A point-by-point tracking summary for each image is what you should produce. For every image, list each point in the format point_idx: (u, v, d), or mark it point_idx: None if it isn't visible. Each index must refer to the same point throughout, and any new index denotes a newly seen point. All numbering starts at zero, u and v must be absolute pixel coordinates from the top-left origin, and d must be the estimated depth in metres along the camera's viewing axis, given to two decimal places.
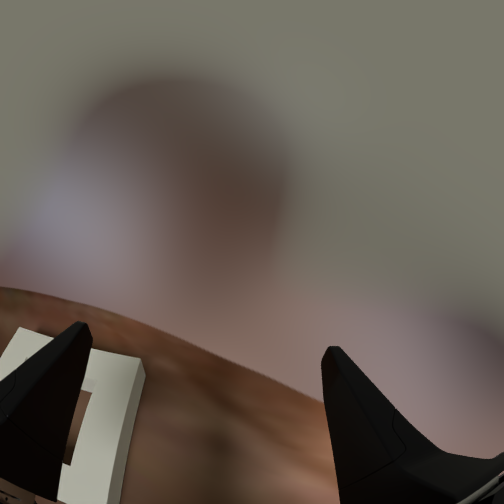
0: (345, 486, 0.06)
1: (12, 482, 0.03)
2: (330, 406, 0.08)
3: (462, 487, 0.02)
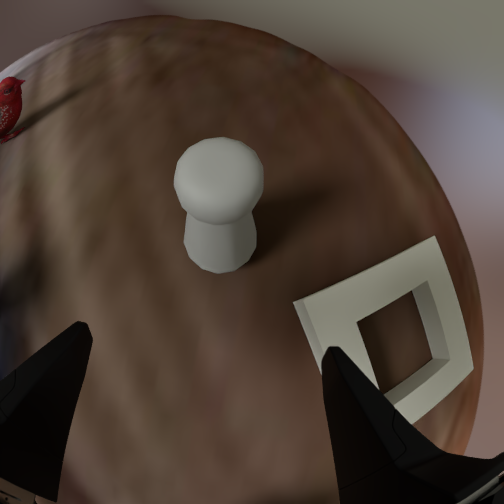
0: (345, 486, 0.06)
1: (12, 482, 0.03)
2: (330, 406, 0.08)
3: (462, 487, 0.02)
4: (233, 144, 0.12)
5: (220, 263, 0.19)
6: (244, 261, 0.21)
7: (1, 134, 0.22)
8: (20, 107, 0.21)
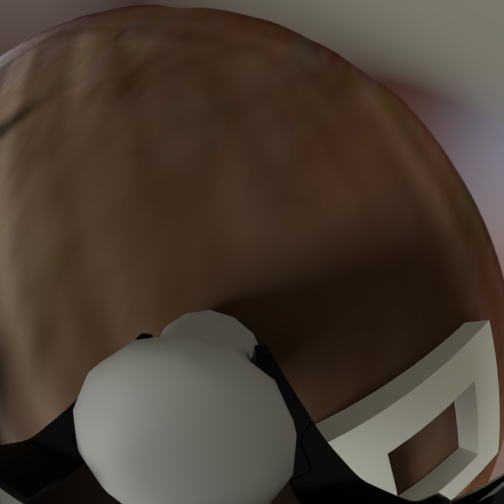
0: None
1: None
2: None
3: None
4: (209, 398, 0.04)
5: None
6: None
7: None
8: None
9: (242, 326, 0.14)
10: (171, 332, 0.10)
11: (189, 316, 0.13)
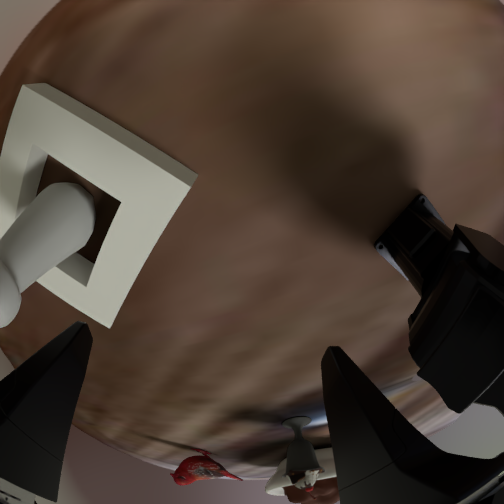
0: (345, 486, 0.06)
1: (12, 482, 0.03)
2: (330, 406, 0.08)
3: (462, 487, 0.02)
4: None
5: (74, 228, 0.16)
6: (74, 197, 0.16)
7: (205, 459, 0.45)
8: (183, 462, 0.42)
9: None
10: None
11: None
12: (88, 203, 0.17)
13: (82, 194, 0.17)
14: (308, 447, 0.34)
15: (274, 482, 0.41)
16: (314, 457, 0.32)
